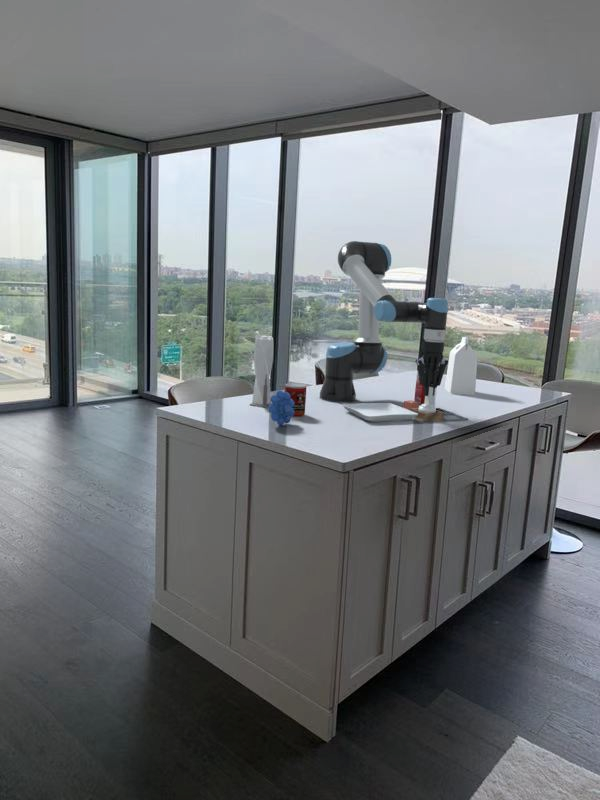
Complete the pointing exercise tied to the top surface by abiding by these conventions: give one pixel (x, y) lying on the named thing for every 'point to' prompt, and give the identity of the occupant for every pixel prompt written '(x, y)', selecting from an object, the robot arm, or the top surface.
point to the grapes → (281, 407)
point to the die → (410, 404)
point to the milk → (462, 369)
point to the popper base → (428, 415)
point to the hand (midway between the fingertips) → (428, 404)
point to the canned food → (297, 397)
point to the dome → (427, 408)
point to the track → (452, 414)
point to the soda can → (419, 393)
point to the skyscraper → (262, 370)
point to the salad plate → (380, 412)
